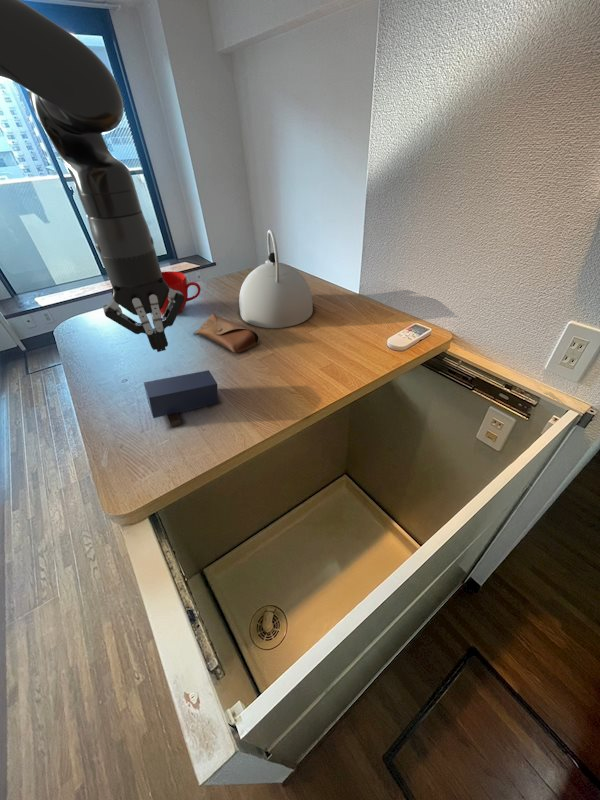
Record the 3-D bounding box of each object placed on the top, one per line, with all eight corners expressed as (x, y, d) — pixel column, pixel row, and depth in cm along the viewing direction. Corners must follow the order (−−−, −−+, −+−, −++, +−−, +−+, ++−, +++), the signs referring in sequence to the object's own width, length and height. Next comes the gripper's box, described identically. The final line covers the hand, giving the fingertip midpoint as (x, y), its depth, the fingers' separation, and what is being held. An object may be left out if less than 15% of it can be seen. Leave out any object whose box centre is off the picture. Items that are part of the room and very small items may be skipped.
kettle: (237, 296, 110) (227, 222, 96) (303, 290, 114) (302, 217, 99) (242, 331, 92) (230, 247, 77) (320, 323, 95) (323, 240, 80)
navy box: (149, 398, 60) (217, 383, 66) (143, 382, 64) (208, 370, 70) (153, 418, 63) (218, 403, 69) (147, 402, 67) (210, 388, 73)
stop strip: (171, 427, 64) (169, 423, 63) (160, 398, 70) (158, 394, 70) (181, 423, 65) (180, 419, 64) (169, 395, 71) (168, 391, 70)
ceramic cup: (200, 320, 98) (192, 287, 91) (144, 320, 98) (132, 288, 91) (209, 301, 107) (202, 270, 101) (158, 302, 108) (148, 271, 101)
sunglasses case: (192, 332, 91) (197, 309, 89) (211, 335, 97) (216, 313, 95) (236, 354, 82) (243, 328, 80) (254, 355, 88) (261, 332, 86)
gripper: (166, 235, 53) (191, 331, 64) (74, 248, 48) (118, 349, 59) (178, 247, 48) (202, 348, 59) (77, 262, 43) (124, 370, 54)
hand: (160, 349), depth 59 cm, fingers closed
